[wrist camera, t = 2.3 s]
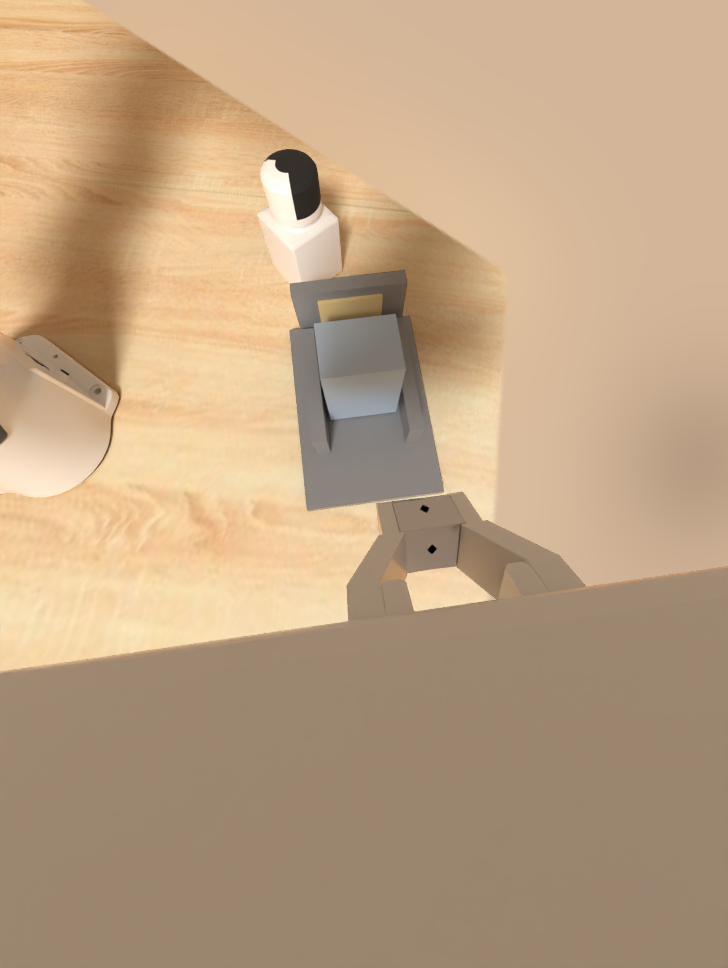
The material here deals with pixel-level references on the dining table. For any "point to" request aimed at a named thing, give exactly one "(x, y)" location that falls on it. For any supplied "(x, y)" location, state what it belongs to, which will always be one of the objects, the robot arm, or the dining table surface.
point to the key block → (360, 365)
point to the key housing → (366, 439)
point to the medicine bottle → (298, 219)
